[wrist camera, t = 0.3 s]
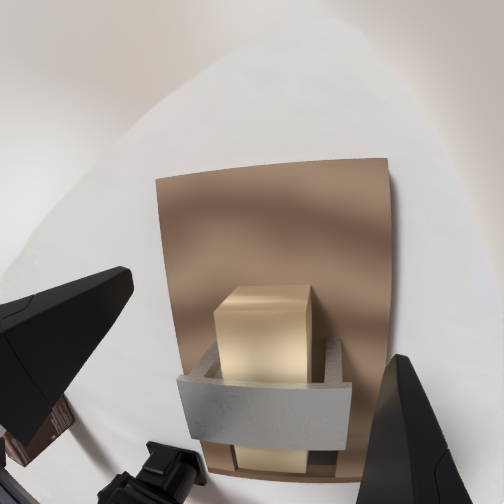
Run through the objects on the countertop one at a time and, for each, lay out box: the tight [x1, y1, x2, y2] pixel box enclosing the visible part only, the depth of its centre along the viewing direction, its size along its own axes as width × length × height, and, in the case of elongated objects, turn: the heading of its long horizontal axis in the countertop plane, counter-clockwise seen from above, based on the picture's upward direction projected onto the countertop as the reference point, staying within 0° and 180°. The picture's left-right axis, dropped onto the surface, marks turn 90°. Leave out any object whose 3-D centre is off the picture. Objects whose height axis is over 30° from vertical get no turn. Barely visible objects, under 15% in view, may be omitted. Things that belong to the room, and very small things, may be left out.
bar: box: [214, 284, 312, 473], centre depth 20 cm, size 13×5×5 cm, turn 5°
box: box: [2, 395, 75, 467], centre depth 28 cm, size 6×4×12 cm
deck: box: [156, 158, 392, 483], centre depth 23 cm, size 29×16×2 cm, turn 5°
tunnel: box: [176, 338, 352, 450], centre depth 19 cm, size 5×10×6 cm, turn 95°
